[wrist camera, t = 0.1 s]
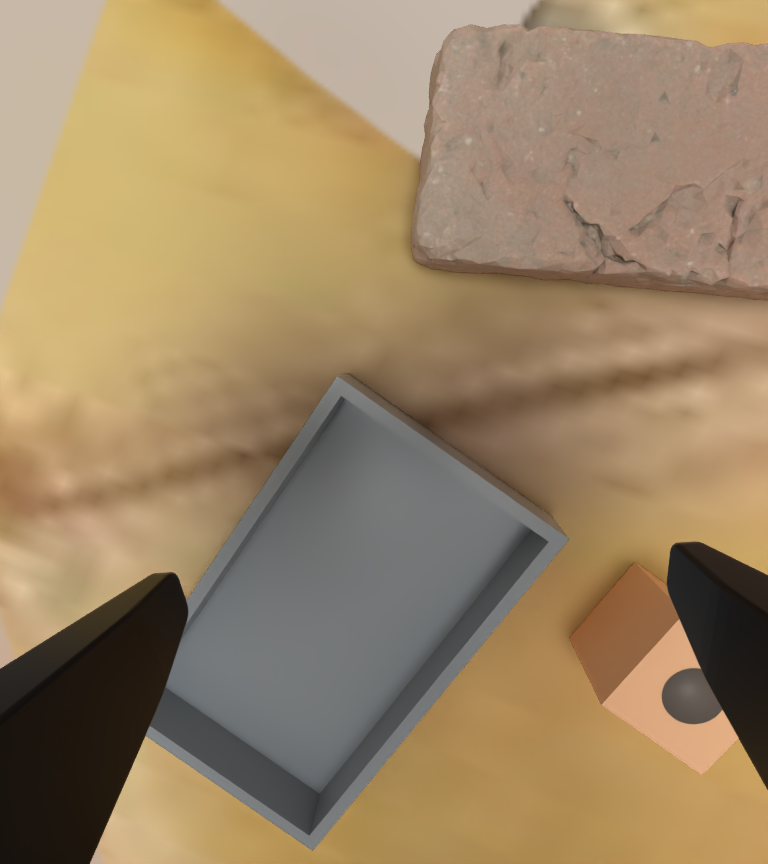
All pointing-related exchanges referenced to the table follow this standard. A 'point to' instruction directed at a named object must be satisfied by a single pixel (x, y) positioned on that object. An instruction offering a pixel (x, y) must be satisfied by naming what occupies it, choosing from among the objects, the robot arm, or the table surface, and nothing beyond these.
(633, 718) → the bored block
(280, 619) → the tray
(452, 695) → the table surface
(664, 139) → the brick
